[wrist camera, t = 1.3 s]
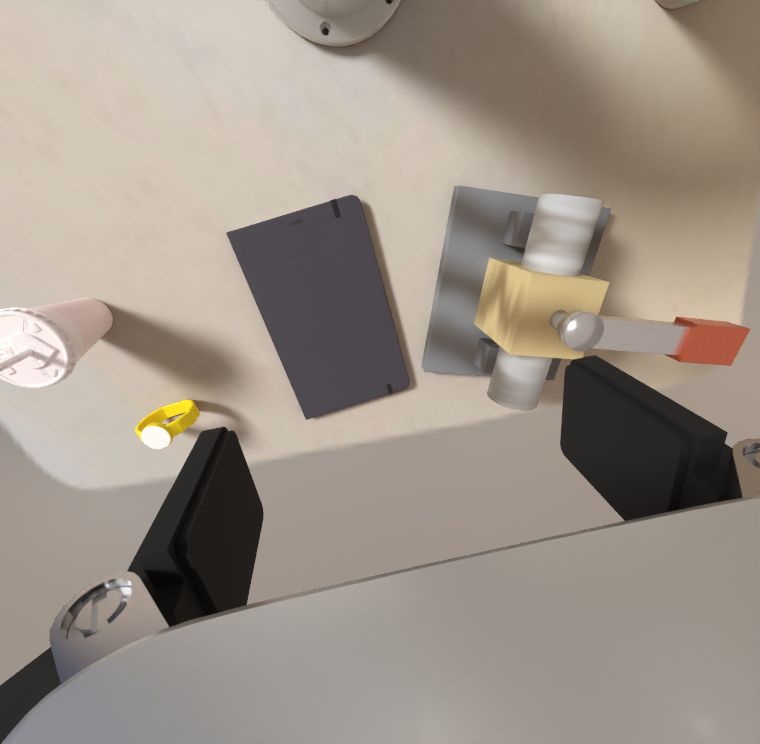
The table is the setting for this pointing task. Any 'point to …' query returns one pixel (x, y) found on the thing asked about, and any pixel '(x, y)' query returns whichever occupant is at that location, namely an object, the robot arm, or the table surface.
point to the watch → (163, 434)
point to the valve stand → (513, 288)
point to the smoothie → (49, 340)
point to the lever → (654, 336)
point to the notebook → (324, 304)
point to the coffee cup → (675, 3)
